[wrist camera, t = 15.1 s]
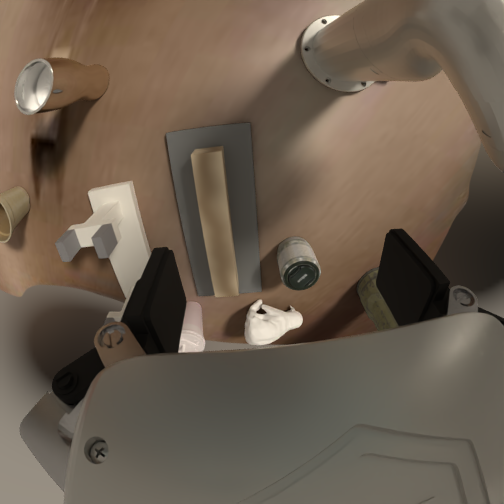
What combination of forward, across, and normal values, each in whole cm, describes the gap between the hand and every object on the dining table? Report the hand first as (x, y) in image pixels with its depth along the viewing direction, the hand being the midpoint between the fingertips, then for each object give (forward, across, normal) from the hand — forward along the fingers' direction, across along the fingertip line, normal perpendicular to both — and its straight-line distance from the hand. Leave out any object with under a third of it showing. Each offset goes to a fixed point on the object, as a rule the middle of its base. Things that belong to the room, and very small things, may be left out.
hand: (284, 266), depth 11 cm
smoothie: (+31, +14, +31) cm, 46 cm away
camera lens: (+31, -6, +19) cm, 36 cm away
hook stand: (+30, +23, +16) cm, 41 cm away
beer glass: (+31, +23, -14) cm, 41 cm away
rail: (+30, +6, +12) cm, 32 cm away
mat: (+30, +6, +12) cm, 33 cm away
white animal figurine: (+31, -2, +33) cm, 45 cm away
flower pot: (+31, +46, +2) cm, 55 cm away
